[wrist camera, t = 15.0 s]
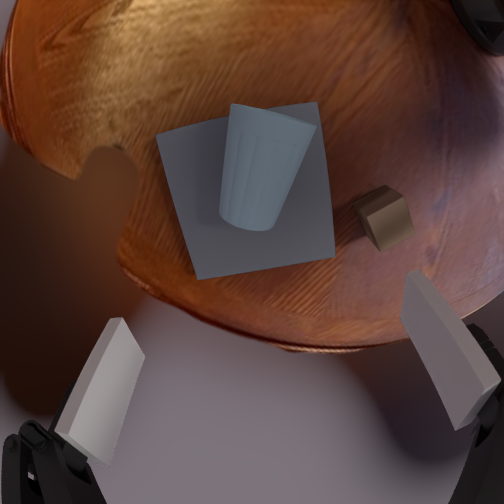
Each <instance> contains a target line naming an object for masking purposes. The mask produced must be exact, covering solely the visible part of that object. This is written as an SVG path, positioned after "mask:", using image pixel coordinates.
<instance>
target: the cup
mask: <svg viewBox="0 0 504 504" xmlns="http://www.w3.org/2000/svg"><path fill="white" fill-rule="evenodd" d="M316 128H317V126H316V125H314V124H312V123H309V122H306V121H303V120H300V119H296V118H293V117H290V116H286V115H283V114H279V113H275V112H271V111H267V110H263V109H259V108H254V107H250V106H245V105H239V104H231V106H230V114H229V122H228V131H227V139H226V148H225V157H224V166H223V175H222V185H221V195H220V206H219V214H220V216H221V217H222V218H223V219H224V220H225V221H226V222H228V223H230V224H232V225H234V226H236V227H239V228H242V229H246V230H252V231H265V230H269V229H271V228H272V227H273V226H274V224H275V222H276V220H277V218H278V216H279V213H280V211H281V209H282V206H283V204H284V202H285V200H286V197H287V195H288V193H289V190H290V188H291V186H292V183H293V181H294V179H295V176H296V174H297V172H298V169H299V167H300V165H301V162H302V160H303V158H304V155H305V153H306V151H307V148H308V146H309V144H310V142H311V139H312V137H313V135H314V132H315V130H316Z"/></svg>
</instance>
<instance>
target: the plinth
mask: <svg viewBox="0 0 504 504" xmlns="http://www.w3.org/2000/svg"><path fill="white" fill-rule="evenodd" d="M263 110H267V111H271V112H275V113H279V114H283V115H286V116H290V117H293V118H296V119H300V120H303V121H306V122H309V123H312V124H314V125H316V126H317V128H316V130H315V132H314V135H313V137H312V139H311V142H310V144H309V146H308V148H307V151H306V153H305V155H304V158H303V160H302V162H301V165H300V167H299V169H298V172H297V174H296V176H295V179H294V181H293V183H292V186H291V188H290V190H289V193H288V195H287V197H286V200H285V202H284V204H283V206H282V209H281V211H280V213H279V216H278V218H277V220H276V222H275V224H274V226H273V227H272V228H271V229H269V230H265V231H252V230H246V229H242V228H239V227H236V226H234V225H232V224H230V223H228V222H226V221H225V220H224V219H223V218H222V217H221V216H220V214H219V206H220V195H221V185H222V175H223V166H224V157H225V148H226V139H227V131H228V122H229V116H225V117H221V118H216V119H212V120H208V121H204V122H200V123H196V124H192V125H188V126H184V127H181V128H177V129H174V130H170V131H167V132H163V133H160V134H157V135H155V136H156V140H157V144H158V147H159V151H160V155H161V159H162V163H163V167H164V170H165V174H166V178H167V181H168V185H169V188H170V192H171V195H172V199H173V202H174V206H175V209H176V213H177V216H178V219H179V223H180V226H181V229H182V232H183V236H184V239H185V242H186V245H187V248H188V251H189V254H190V257H191V261H192V264H193V267H194V270H195V273H196V276H197V279H198V280H203V279H209V278H215V277H221V276H228V275H234V274H240V273H246V272H252V271H258V270H264V269H269V268H275V267H281V266H287V265H292V264H298V263H304V262H309V261H315V260H321V259H326V258H332V257H336V255H335V240H334V227H333V215H332V205H331V195H330V186H329V177H328V169H327V162H326V154H325V147H324V140H323V134H322V127H321V121H320V115H319V110H318V104H317V102H310V103H302V104H294V105H286V106H280V107H273V108H267V109H263Z"/></svg>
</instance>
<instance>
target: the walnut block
mask: <svg viewBox="0 0 504 504" xmlns="http://www.w3.org/2000/svg"><path fill="white" fill-rule="evenodd" d="M353 205H354V208H355V210H356V212H357V214H358V216H359V219H360V221H361V223H362V226H363V228H364V230H365V233H366V235H367V237H368V238H369V239H370V240H371V241H372V243H373V244H374V245H375V246H376V247H377V249H378V250H379V251H380V252H381V253H382V252H383V251H385V250H387V249H389V248H390V247H392V246H394V245H396V244H397V243H399V242H401V241H403V240H404V239H406V238H408V237H410V236H411V235H413V234H415V230H414V226H413V223H412V220H411V217H410V213H409V210H408V207H407V204H406V201H405V198H404V196H402V195H401V194H399V193H398V192H396V191H395V190H393V189H391V188H390V187H388V186H387V185H385V186H383V187H381V188H379V189H377V190H376V191H374V192H372V193H370V194H368V195H366V196H365V197H363V198H361V199H359V200H357V201H355V202H354V203H353Z"/></svg>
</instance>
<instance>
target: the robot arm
mask: <svg viewBox="0 0 504 504" xmlns="http://www.w3.org/2000/svg"><path fill="white" fill-rule="evenodd" d="M451 2H452V4H453V7H454V9H455V11H456V13H457V15H458V17H459V18H460V20H461V22H462V23H463V25H464V26H465V28H466V29H467V31H468V32H469V33H470V34H471V36H472V37H473V38H474V39H475V40H476V41H477V42H478V43H479V44H480V45H481V46H482V47H483V48H484V49H486V50H487V51H488V52H490V53H492V54H494V55H496V56H504V0H451ZM400 321H401V322H402V324H403V326H404V328H405V329H406V331H407V333H408V335H409V336H410V338H411V340H412V342H413V344H414V345H415V347H416V349H417V351H418V353H419V355H420V357H421V359H422V361H423V362H424V365H425V367H426V369H427V370H428V372H429V374H430V376H431V378H432V380H433V382H434V385H435V387H436V389H437V391H438V392H439V395H440V397H441V399H442V401H443V404H444V406H445V408H446V410H447V413H448V415H449V417H450V419H451V422H452V424H453V426H454V429H455V430H457V429H460V428H461V427H464V426H466V425H468V424H470V423H471V422H472V421H473V419H474V418H475V417H476V416H477V415H478V418H479V420H480V421H479V422H478V423H477V424H476V426H475V427H474V428H473V429H472V431H471V433H470V435H472V434H473V433H474V432H475V431H476V432H475V435H474V438H473V442H472V445H471V448H470V451H469V454H468V457H467V460H466V463H465V466H464V468H463V471H462V473H461V476H460V478H459V481H458V483H457V486H456V488H455V490H454V493H453V495H452V497H451V499H450V501H449V503H448V504H504V359H503V358H502V356H501V355H500V353H499V352H498V350H497V349H496V348H495V347H494V345H493V343H492V342H491V341H489V338H488V336H487V335H486V334H485V332H484V331H483V330H482V329H481V328H479V327H478V326H476V325H475V324H470V325H467V326H465V325H464V323H463V322H462V320H461V319H460V318H459V316H458V315H457V314H456V313H455V311H454V310H453V309H452V307H451V306H450V305H449V304H448V302H447V301H446V300H445V298H444V297H443V296H442V295H441V294H440V292H439V291H438V290H437V289H436V287H435V286H434V285H433V284H432V283H431V281H430V280H429V279H428V278H427V277H426V276H425V274H424V273H423V272H422V271H421V270H416V271H412V272H408V273H406V279H405V288H404V296H403V303H402V310H401V316H400ZM144 359H145V356H144V354H143V352H142V351H141V349H140V347H139V346H138V344H137V342H136V341H135V339H134V337H133V335H132V334H131V332H130V330H129V328H128V326H127V325H126V323H125V321H124V319H123V318H111V319H110V320H109V322H108V323H107V325H106V327H105V329H104V331H103V332H102V334H101V336H100V338H99V340H98V341H97V343H96V345H95V347H94V349H93V351H92V353H91V355H90V356H89V358H88V361H87V362H86V364H85V366H84V368H83V370H82V372H81V374H80V376H79V378H78V379H75V380H74V381H73V382H72V383H71V385H70V386H69V387H68V389H67V391H66V393H65V395H64V398H63V399H62V401H61V405H59V407H58V410H57V412H56V414H55V416H54V418H53V421H52V423H51V425H50V428H49V430H48V431H46V430H45V429H44V428H43V427H42V426H41V425H40V424H39V423H38V422H36V421H35V420H28V421H26V422H25V423H24V424H23V425H22V426H21V427H20V430H19V432H18V435H16V434H11V435H10V436H8V437H7V438H6V440H5V442H4V446H3V454H2V475H1V476H2V477H1V479H2V480H1V482H2V483H1V493H2V494H1V495H2V504H107V503H106V501H105V499H104V497H103V495H102V493H101V490H100V488H99V486H98V484H97V482H96V479H95V477H94V475H93V472H92V470H91V467H90V466H89V464H88V463H87V462H86V461H87V458H89V459H90V460H92V461H93V462H94V463H96V464H100V465H104V466H108V467H110V464H111V461H112V457H113V454H114V450H115V447H116V443H117V440H118V437H119V433H120V430H121V427H122V424H123V421H124V417H125V414H126V411H127V408H128V405H129V402H130V399H131V396H132V393H133V390H134V387H135V384H136V381H137V378H138V375H139V373H140V370H141V367H142V364H143V361H144ZM28 472H30V473H31V474H33V475H34V480H32V479H30V478H29V477H28Z"/></svg>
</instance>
